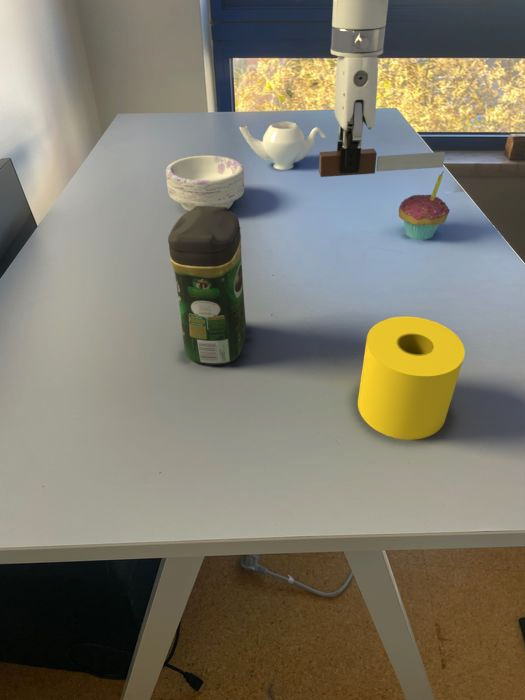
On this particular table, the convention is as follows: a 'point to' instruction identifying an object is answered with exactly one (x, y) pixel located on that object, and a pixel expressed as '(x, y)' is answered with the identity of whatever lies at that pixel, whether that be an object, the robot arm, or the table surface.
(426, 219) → the cupcake
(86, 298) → the table surface
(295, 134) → the teapot
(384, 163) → the knife
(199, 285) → the coffee jar
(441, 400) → the tape roll
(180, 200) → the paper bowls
